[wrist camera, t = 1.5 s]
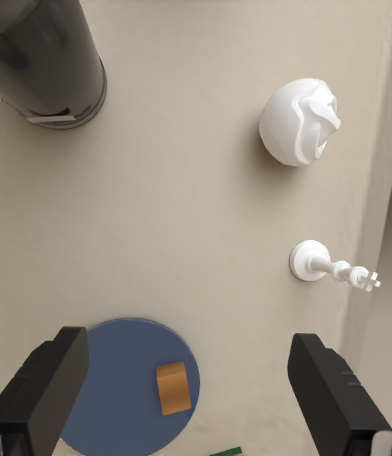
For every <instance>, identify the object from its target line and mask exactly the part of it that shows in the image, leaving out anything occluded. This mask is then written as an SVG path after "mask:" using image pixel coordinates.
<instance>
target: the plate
mask: <svg viewBox="0 0 392 456" xmlns="http://www.w3.org/2000/svg"><path fill="white" fill-rule="evenodd" d="M86 332H87V341H88V351H89V368H88V372H87V375H86V378H85V380H84V383H83V385H82V387H81V389H80V392H79V394H78V396H77V398H76V401H75V403H74V405H73V408H72V410H71V412H70V414H69V417H68V419H67V421H66V423H65V426H64V428H63V430H62V433H61V435H60V437H61V438H62V439H63V440H64V441H65V442H66V443H67V444H68V445H69V446H70V447H72V448H73V449H74V450H76V451H78V452H79V453H81V454H83V455H85V456H148V455H150V454H152V453H154V452H156V451H158V450H160V449H161V448H163V447H165V446H166V445H167V444H169V443H170V442H171V441H172V440H174V439H175V438H176V437H177V436H178V435H179V434H180V432H181V431H182V430H183V429H184V428H185V426H186V425H187V423H188V422H189V420H190V418H191V416H192V414H193V412H194V410H195V407H196V404H197V401H198V396H199V389H200V379H199V371H198V367H197V363H196V360H195V358H194V355H193V353H192V352H191V350H190V348H189V347H188V345H187V344H186V343H185V341H184V340H183V339H182V338H181V337H180V336H179V335H178V334H176V333H175V332H174V331H172V330H171V329H169V328H168V327H166V326H164V325H162V324H159V323H157V322H154V321H150V320H146V319H139V318H122V319H115V320H111V321H107V322H104V323H102V324H99V325H96V326H94V327H92V328H91V329H89V330H87V331H86ZM179 361H184V366H185V370H186V377H187V383H188V390H189V396H190V403H191V409H187V410H183V411H179V412H176V413H172V414H168V415H164V416H163V414H162V408H161V402H160V395H159V389H158V383H157V372H156V367H157V366H162V365H166V364H170V363H175V362H179Z"/></svg>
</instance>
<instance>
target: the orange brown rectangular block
mask: <svg viewBox="0 0 392 456" xmlns="http://www.w3.org/2000/svg"><path fill="white" fill-rule="evenodd" d="M156 372H157V383H158V389H159V395H160V402H161V408H162V414H163V416H164V415H168V414H172V413H176V412H179V411H183V410H187V409H191V403H190V396H189V390H188V383H187V377H186V370H185V366H184V361H179V362H175V363H170V364H166V365H162V366H157V367H156Z"/></svg>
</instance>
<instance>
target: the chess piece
mask: <svg viewBox="0 0 392 456" xmlns="http://www.w3.org/2000/svg"><path fill="white" fill-rule="evenodd" d="M290 267H291V270H292V272H293V273H294V275H295V276H296V277H298V278H299V279H301V280H305V281H315V280H318V279H320V278H321V277H323V276H324V275H325V273H331V276H332V278H333V279H334V280H335V281H338V282H344V281H347V282H348V283H349V284H350V285H351V286H352V287H354V288H362V287H363V288H362V289H364V290H366V291H369V292H370V291H371V288H372V286H373V285H374V286H377V287H379V286H380V284H381V283H380V282H379V281H376V280H375V279H376V277H377V273H375V272H372V271H369V273H368V271H367V270H366V269H365V268H364V267H359V266H358V267H350V265H349V264H348V263H347V262H345V261H338V262H336V263H335V264H334V263H332V262H330V255H329V252H328V250H327V248H326V247H325V246H324V245H323V244H321V243H319V242H317V241H314V240H306V241H303V242H301V243H299V244H298V245H297V246H296V247H295V248H294V249H293V251H292V253H291V256H290Z"/></svg>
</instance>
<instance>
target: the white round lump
mask: <svg viewBox="0 0 392 456" xmlns="http://www.w3.org/2000/svg"><path fill="white" fill-rule="evenodd" d="M336 111H337V99H336V98H335V97H334V96H333V95H332V93H331V91H330V89H329V87H328V86H327V85H326V84H325V82H323V81H322V80H317V79H311V78H305V79H299V80H296V81H293V82H290V83H288V84H286V85H284V86H283V87H281V88H280V89H278V90H277V91H276V92H275V93H274V94H273V95H272V96H271V98H270V99H269V101H268V102H267V104H266V106H265V108H264V110H263V112H262V115H261V119H260V124H259V132H260V135H261V138H262V140H263V143H264V145H265V147H266V149H267V150H268V151H269V153H270V154H271V155H272V156H274V157H275V158H276V159H277V160H278V161H280V162H281V163H283V164H286V165H292V166H305V165H309V164H310V163H311V162H312V161H314V160H317V159H319V158H320V157H321V155H322V151H323V149H324V147H325V144H326V142H327V140H328V137H329V136H330V135H331V134H333V133H334V132H336V131H337V130H338V128H339V126H340V123H341V121H340V120H339V119H338V118H337V117H336Z"/></svg>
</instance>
